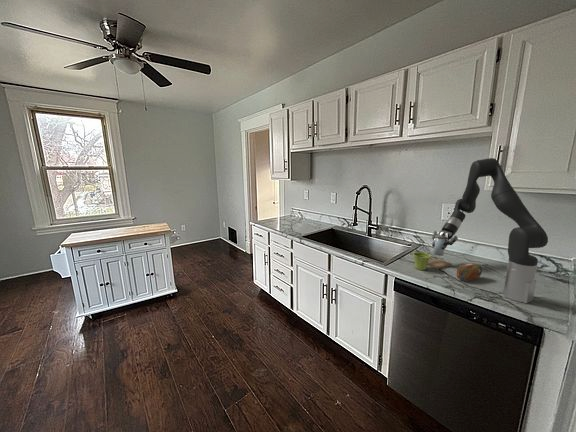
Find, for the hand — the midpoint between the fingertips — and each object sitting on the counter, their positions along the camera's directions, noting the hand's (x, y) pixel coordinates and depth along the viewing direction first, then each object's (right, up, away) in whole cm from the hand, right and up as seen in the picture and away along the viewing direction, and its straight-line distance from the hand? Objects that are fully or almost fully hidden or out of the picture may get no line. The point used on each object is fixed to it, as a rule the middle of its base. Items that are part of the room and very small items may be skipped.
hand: (437, 247), depth 147 cm
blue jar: (+2, -5, +2) cm, 5 cm away
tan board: (+2, -11, +3) cm, 12 cm away
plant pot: (-12, -13, -2) cm, 17 cm away
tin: (+6, -15, -17) cm, 24 cm away
